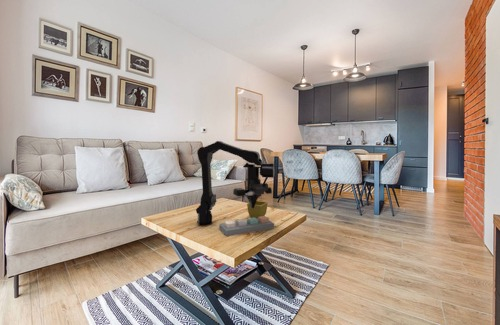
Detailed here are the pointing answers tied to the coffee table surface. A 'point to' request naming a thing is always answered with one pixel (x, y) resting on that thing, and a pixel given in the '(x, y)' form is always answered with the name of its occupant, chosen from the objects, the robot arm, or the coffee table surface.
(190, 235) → the coffee table surface
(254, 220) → the key
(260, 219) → the key
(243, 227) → the keyguard frame
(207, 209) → the robot arm
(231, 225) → the key
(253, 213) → the flower pot
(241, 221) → the key
